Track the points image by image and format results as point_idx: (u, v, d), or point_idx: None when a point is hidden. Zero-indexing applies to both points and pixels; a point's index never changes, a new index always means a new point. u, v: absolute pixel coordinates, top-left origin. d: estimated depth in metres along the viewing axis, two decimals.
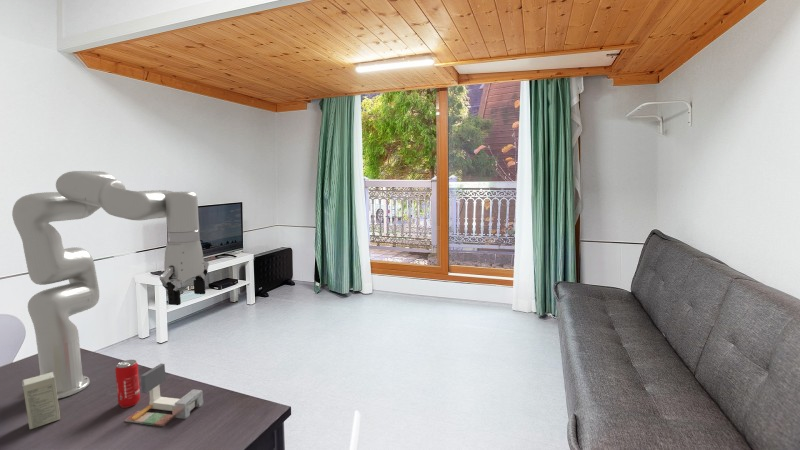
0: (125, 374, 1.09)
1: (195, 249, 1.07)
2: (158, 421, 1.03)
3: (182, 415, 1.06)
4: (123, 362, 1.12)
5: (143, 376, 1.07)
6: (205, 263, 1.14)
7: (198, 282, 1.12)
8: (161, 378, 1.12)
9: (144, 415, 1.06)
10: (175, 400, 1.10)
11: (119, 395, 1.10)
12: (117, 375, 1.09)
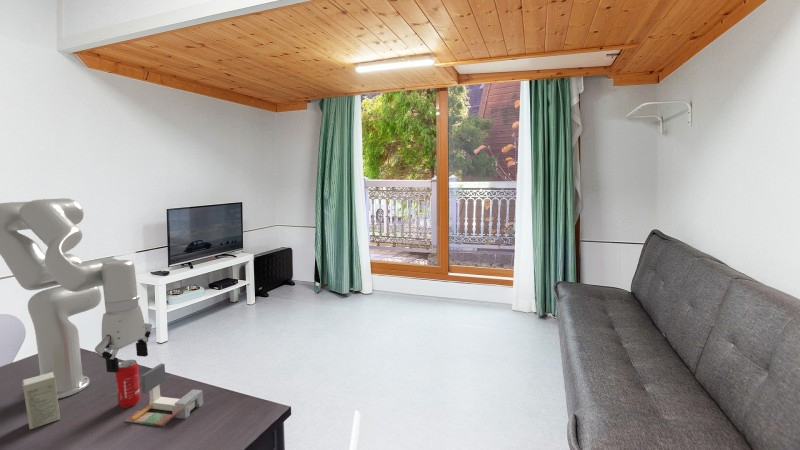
0: (125, 374, 1.09)
1: (134, 315, 1.10)
2: (158, 421, 1.03)
3: (182, 415, 1.06)
4: (123, 362, 1.12)
5: (143, 376, 1.07)
6: (147, 325, 1.17)
7: (140, 345, 1.15)
8: (161, 378, 1.12)
9: (144, 415, 1.06)
10: (175, 400, 1.10)
11: (119, 395, 1.10)
12: (117, 375, 1.09)
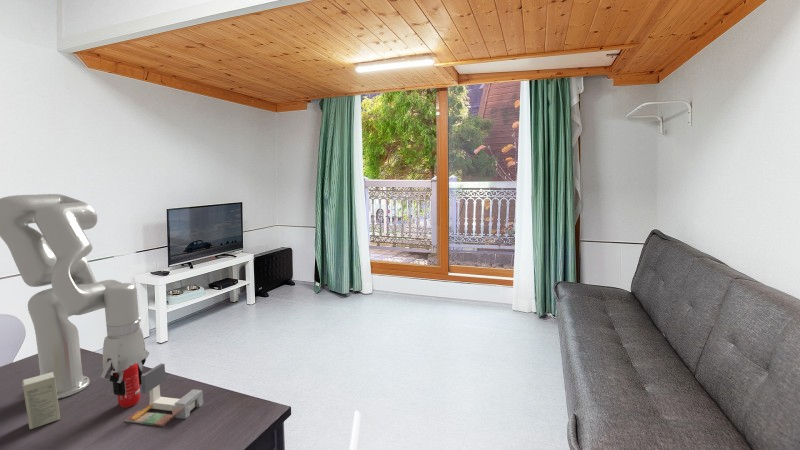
0: (125, 374, 1.09)
1: (135, 338, 1.11)
2: (158, 421, 1.03)
3: (182, 415, 1.06)
4: None
5: (143, 376, 1.07)
6: (145, 352, 1.17)
7: None
8: (161, 378, 1.12)
9: (144, 415, 1.06)
10: (175, 400, 1.10)
11: (119, 395, 1.10)
12: (117, 375, 1.09)
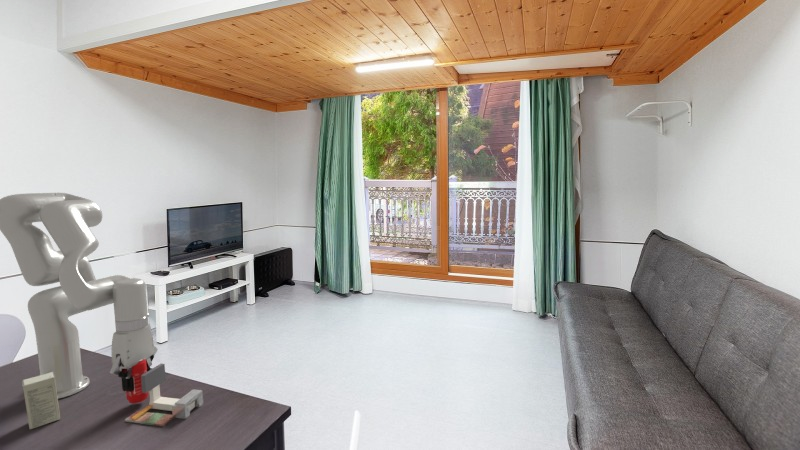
0: (134, 370, 1.09)
1: (143, 334, 1.10)
2: (158, 421, 1.03)
3: (182, 415, 1.06)
4: None
5: (143, 376, 1.07)
6: (154, 348, 1.17)
7: None
8: (161, 378, 1.12)
9: (144, 415, 1.06)
10: (175, 400, 1.10)
11: (128, 391, 1.09)
12: (126, 371, 1.09)
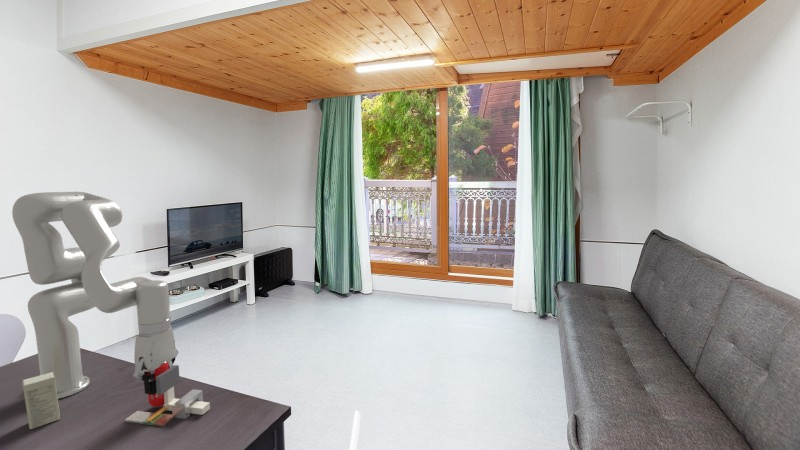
0: (156, 373, 1.07)
1: (166, 337, 1.09)
2: (158, 421, 1.03)
3: (182, 415, 1.06)
4: None
5: (158, 378, 1.06)
6: None
7: None
8: (175, 380, 1.11)
9: (144, 415, 1.06)
10: None
11: (150, 394, 1.08)
12: (148, 374, 1.07)
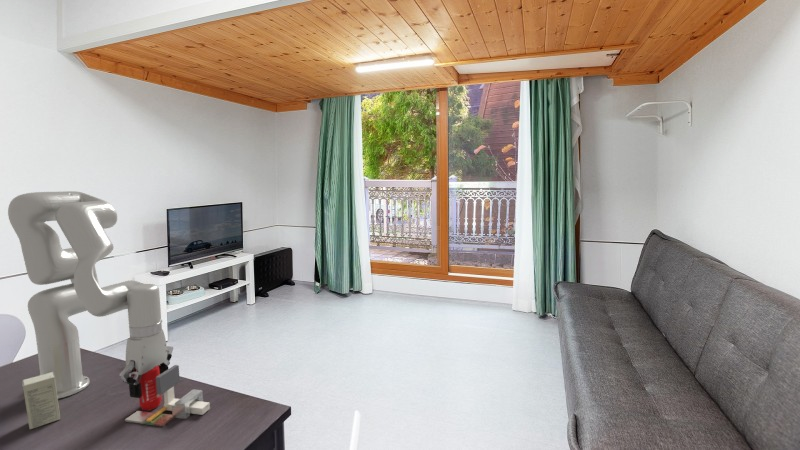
0: (147, 377, 1.08)
1: (157, 340, 1.10)
2: (158, 421, 1.03)
3: (182, 415, 1.06)
4: None
5: (158, 378, 1.06)
6: (169, 348, 1.17)
7: (162, 368, 1.15)
8: (175, 380, 1.11)
9: (144, 415, 1.06)
10: None
11: (141, 398, 1.09)
12: None
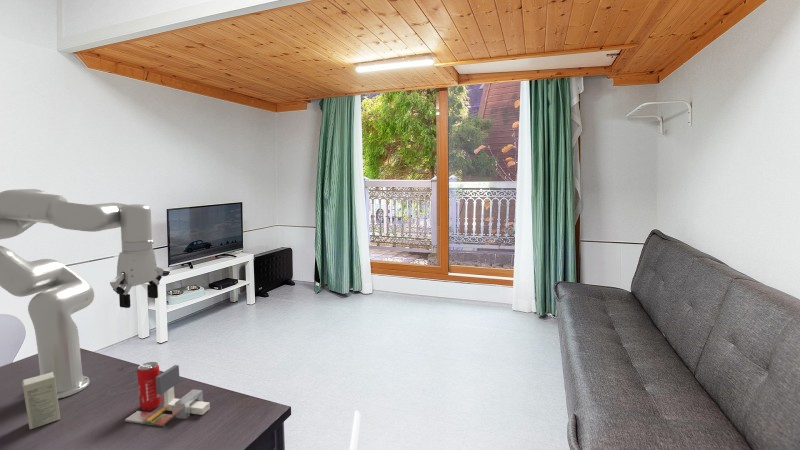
0: (147, 377, 1.08)
1: (147, 257, 1.17)
2: (158, 421, 1.03)
3: (182, 415, 1.06)
4: (145, 364, 1.11)
5: (158, 378, 1.06)
6: (159, 269, 1.24)
7: (151, 287, 1.22)
8: (175, 380, 1.11)
9: (144, 415, 1.06)
10: None
11: (141, 398, 1.09)
12: (139, 377, 1.08)
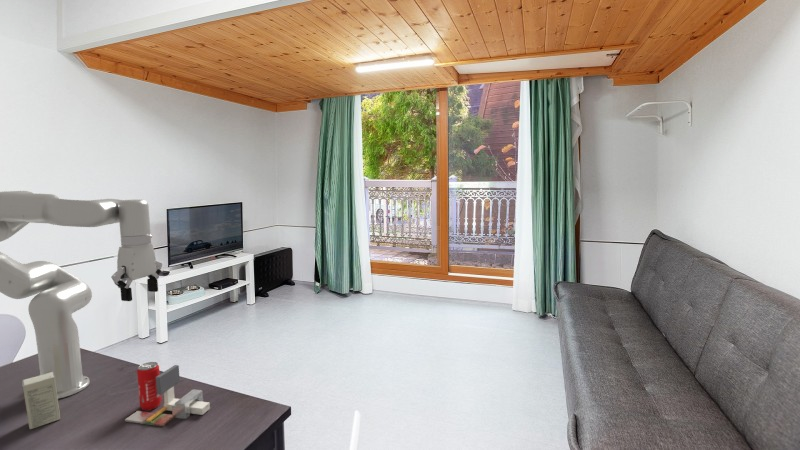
0: (147, 377, 1.08)
1: (146, 251, 1.19)
2: (158, 421, 1.03)
3: (182, 415, 1.06)
4: (144, 364, 1.11)
5: (158, 378, 1.06)
6: (158, 264, 1.26)
7: (151, 281, 1.24)
8: (175, 380, 1.11)
9: (144, 415, 1.06)
10: None
11: (141, 398, 1.09)
12: (139, 377, 1.08)
